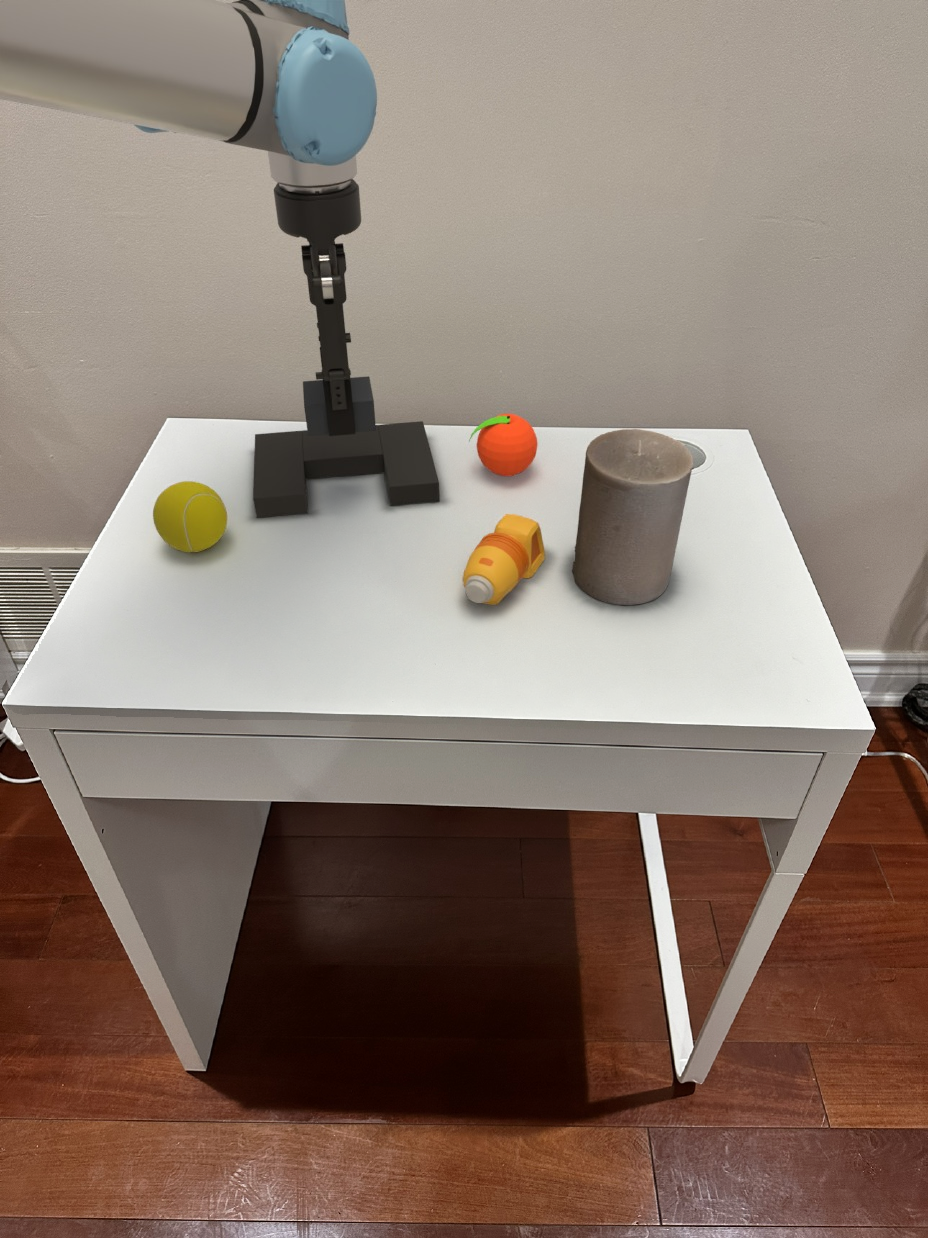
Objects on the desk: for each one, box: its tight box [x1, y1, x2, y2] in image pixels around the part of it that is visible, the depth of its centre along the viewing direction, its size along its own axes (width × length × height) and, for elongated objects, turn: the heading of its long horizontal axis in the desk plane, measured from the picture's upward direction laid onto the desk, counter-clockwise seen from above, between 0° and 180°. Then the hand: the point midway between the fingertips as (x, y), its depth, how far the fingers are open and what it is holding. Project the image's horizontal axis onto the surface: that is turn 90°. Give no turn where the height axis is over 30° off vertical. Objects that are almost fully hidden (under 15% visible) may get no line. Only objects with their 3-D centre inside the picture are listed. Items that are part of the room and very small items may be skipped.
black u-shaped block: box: [252, 420, 440, 519], centre depth 101 cm, size 20×14×2 cm
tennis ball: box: [152, 480, 228, 553], centre depth 89 cm, size 7×7×7 cm
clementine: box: [468, 413, 538, 477], centre depth 100 cm, size 8×7×7 cm
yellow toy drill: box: [462, 513, 546, 606], centre depth 85 cm, size 5×6×12 cm
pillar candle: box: [571, 428, 695, 606], centre depth 83 cm, size 10×10×15 cm
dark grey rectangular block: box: [302, 376, 377, 436], centre depth 92 cm, size 7×6×4 cm
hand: (340, 418), depth 93 cm, fingers closed on dark grey rectangular block, 5 cm apart
